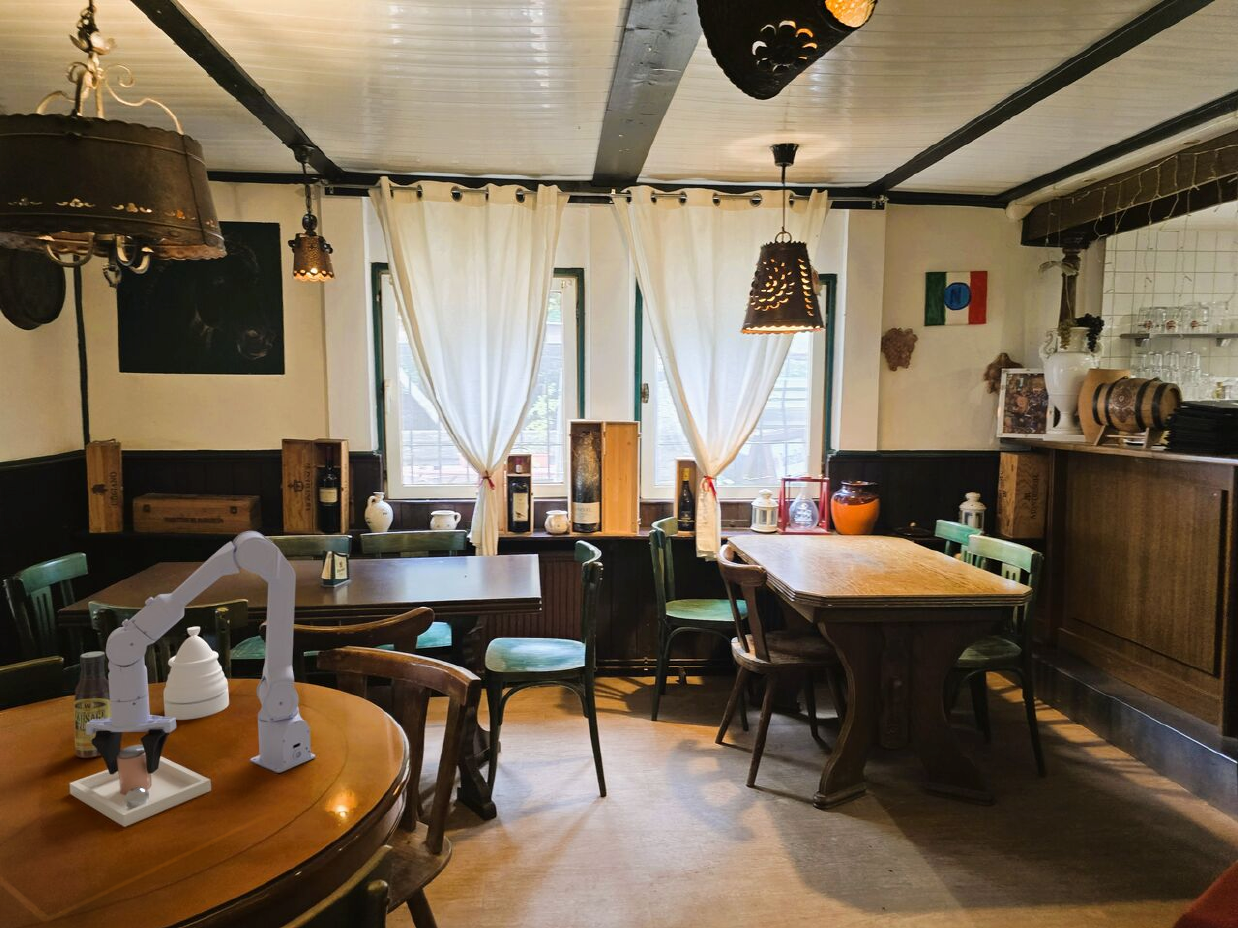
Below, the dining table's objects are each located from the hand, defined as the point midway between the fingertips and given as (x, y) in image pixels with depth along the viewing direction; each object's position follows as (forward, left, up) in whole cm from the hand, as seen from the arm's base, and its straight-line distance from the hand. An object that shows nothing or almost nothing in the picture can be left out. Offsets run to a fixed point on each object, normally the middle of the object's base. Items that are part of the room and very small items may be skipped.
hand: (134, 771), depth 137 cm
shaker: (0, 0, -3) cm, 3 cm away
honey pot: (+30, -26, -4) cm, 40 cm away
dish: (-2, 0, -4) cm, 4 cm away
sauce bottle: (+24, -3, -4) cm, 25 cm away
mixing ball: (-7, +3, -3) cm, 9 cm away
